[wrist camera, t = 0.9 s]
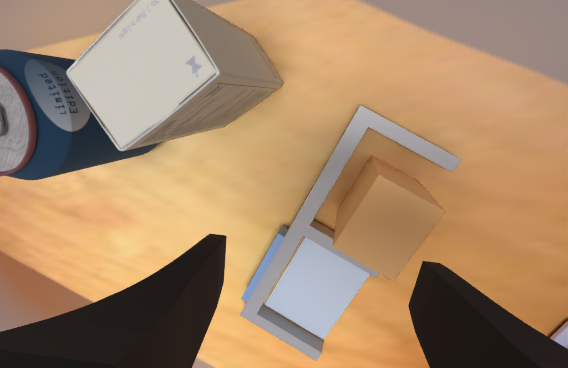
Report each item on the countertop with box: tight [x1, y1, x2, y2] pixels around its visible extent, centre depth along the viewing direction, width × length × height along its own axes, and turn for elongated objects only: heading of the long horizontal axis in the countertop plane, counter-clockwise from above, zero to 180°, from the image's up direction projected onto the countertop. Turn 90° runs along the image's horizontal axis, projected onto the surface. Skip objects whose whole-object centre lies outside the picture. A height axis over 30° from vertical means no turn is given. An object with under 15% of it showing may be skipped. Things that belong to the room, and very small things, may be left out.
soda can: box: [0, 49, 158, 180], centre depth 21 cm, size 7×7×12 cm
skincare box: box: [67, 0, 283, 151], centre depth 19 cm, size 6×4×12 cm
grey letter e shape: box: [240, 105, 461, 360], centre depth 25 cm, size 8×20×2 cm, turn 153°
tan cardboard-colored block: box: [333, 155, 445, 281], centre depth 21 cm, size 4×5×7 cm
